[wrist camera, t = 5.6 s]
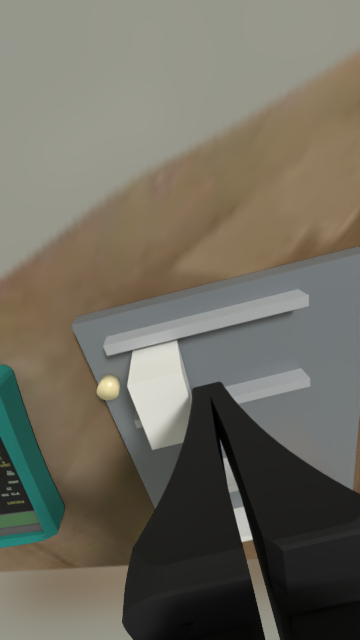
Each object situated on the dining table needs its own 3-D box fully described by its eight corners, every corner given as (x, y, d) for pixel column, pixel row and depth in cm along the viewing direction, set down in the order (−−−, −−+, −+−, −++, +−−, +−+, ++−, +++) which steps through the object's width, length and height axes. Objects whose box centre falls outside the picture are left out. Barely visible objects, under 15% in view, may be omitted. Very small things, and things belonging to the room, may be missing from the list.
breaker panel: (357, 246, 14) (409, 257, 11) (341, 502, 24) (367, 543, 21) (77, 316, 14) (57, 344, 11) (176, 541, 24) (179, 587, 21)
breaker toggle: (176, 337, 14) (182, 372, 11) (191, 394, 15) (200, 438, 12) (133, 348, 14) (127, 386, 11) (152, 403, 15) (152, 449, 12)
